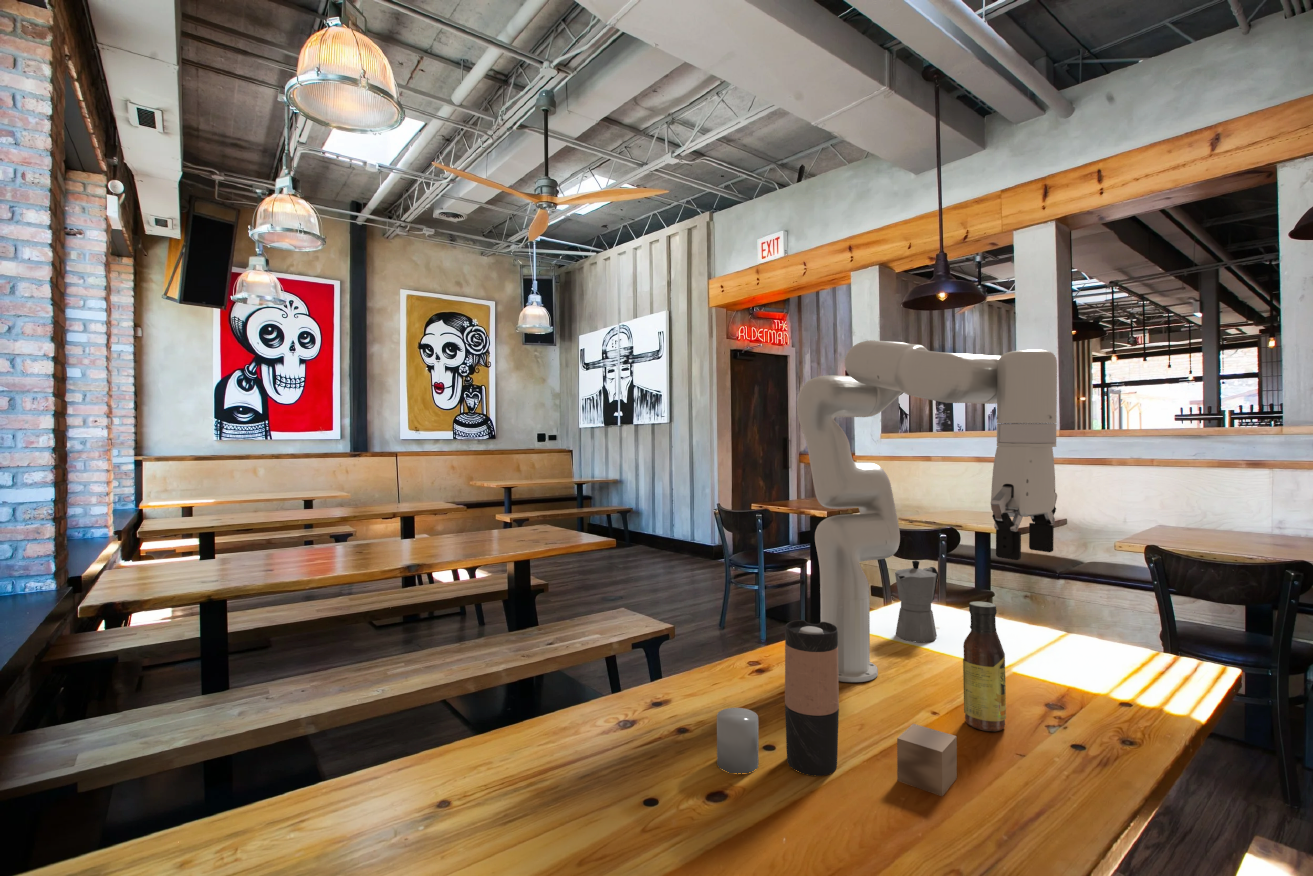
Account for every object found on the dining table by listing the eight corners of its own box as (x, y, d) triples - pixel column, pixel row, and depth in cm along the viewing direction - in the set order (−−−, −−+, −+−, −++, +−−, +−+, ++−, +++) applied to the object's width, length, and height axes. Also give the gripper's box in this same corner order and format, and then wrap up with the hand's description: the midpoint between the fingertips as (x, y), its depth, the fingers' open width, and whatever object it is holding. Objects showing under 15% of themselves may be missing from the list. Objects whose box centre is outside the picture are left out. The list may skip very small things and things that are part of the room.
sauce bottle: (1011, 735, 104) (1011, 610, 103) (969, 732, 105) (968, 608, 105) (998, 717, 110) (998, 600, 110) (958, 714, 111) (958, 598, 111)
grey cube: (897, 781, 90) (897, 738, 90) (913, 764, 95) (913, 723, 95) (942, 797, 86) (942, 752, 86) (956, 779, 91) (956, 736, 91)
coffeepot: (917, 647, 146) (917, 567, 146) (881, 636, 154) (881, 560, 154) (955, 634, 155) (955, 559, 155) (919, 625, 163) (919, 553, 163)
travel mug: (809, 782, 90) (808, 638, 90) (774, 758, 97) (773, 623, 97) (850, 769, 93) (849, 630, 93) (814, 746, 100) (813, 616, 100)
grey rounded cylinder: (708, 761, 96) (708, 714, 96) (739, 750, 99) (739, 704, 99) (735, 779, 91) (735, 729, 91) (767, 767, 94) (766, 718, 94)
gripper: (1027, 435, 102) (1027, 544, 102) (968, 436, 92) (968, 557, 92) (1080, 436, 96) (1079, 552, 96) (1023, 437, 86) (1022, 566, 86)
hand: (1025, 554), depth 94 cm, fingers open, 9 cm apart
